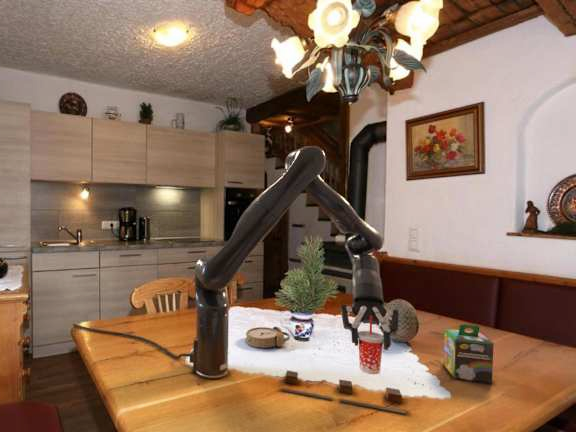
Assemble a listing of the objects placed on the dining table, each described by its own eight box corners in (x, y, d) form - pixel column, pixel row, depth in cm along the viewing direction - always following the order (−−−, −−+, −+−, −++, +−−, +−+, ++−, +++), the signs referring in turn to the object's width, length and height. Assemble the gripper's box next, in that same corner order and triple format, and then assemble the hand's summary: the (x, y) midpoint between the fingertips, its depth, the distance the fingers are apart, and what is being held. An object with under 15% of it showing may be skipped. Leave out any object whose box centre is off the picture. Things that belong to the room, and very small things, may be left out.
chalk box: (478, 370, 105) (480, 320, 104) (493, 384, 96) (495, 331, 96) (442, 365, 108) (443, 317, 107) (453, 378, 99) (455, 326, 99)
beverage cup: (382, 378, 86) (384, 321, 85) (354, 371, 89) (356, 316, 88) (384, 368, 91) (385, 314, 90) (358, 362, 94) (359, 310, 94)
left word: (281, 391, 91) (281, 383, 91) (284, 377, 98) (284, 370, 98) (331, 400, 87) (332, 392, 87) (330, 385, 94) (331, 377, 94)
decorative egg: (424, 342, 125) (426, 301, 125) (408, 350, 119) (410, 305, 118) (390, 332, 135) (392, 293, 135) (374, 338, 128) (375, 298, 128)
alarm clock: (244, 327, 129) (285, 322, 128) (246, 341, 129) (287, 335, 128) (246, 339, 118) (291, 333, 117) (248, 353, 118) (293, 347, 117)
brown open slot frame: (340, 402, 86) (340, 394, 86) (338, 386, 94) (339, 379, 94) (406, 414, 81) (406, 406, 81) (399, 397, 89) (399, 389, 89)
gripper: (339, 279, 99) (340, 335, 88) (398, 283, 94) (407, 344, 83) (338, 293, 104) (339, 348, 93) (394, 298, 99) (401, 357, 88)
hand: (371, 346), depth 88 cm, fingers closed on beverage cup, 6 cm apart
